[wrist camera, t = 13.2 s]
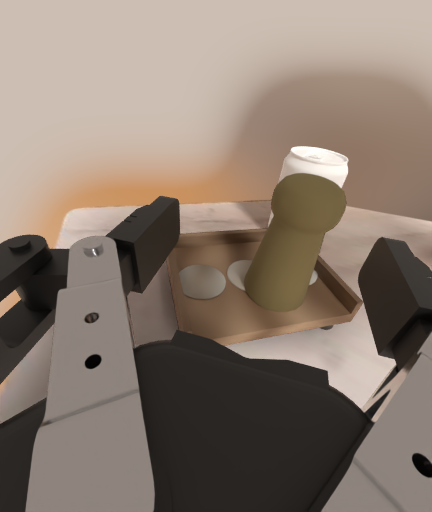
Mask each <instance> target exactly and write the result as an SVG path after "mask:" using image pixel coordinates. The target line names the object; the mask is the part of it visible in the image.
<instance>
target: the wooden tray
mask: <svg viewBox="0 0 432 512" xmlns="http://www.w3.org/2000/svg"><path fill="white" fill-rule="evenodd" d="M267 229H268V228H265V229H249V230H233V231H218V232H202V233H186V234H180V235H179V239H178V242H177V244H176V245H175V247H174V248H173V250H172V251H171V253H170V254H169V255H168V257H167V258H166V262H167V267H168V272H169V278H170V283H171V289H172V294H173V300H174V305H175V311H176V316H177V321H178V327H179V330H180V331H184V332H187V333H191V334H195V335H198V336H202V337H206V338H209V339H212V340H214V341H216V342H218V343H219V344H221V345H223V346H225V345H230V344H235V343H241V342H246V341H251V340H256V339H262V338H267V337H272V336H277V335H282V334H288V333H293V332H298V331H303V330H309V329H314V328H322V329H325V330H328V329H331V328H332V327H333V325H335V324H340V323H345V322H350V321H351V320H352V319H353V317H354V316H355V314H356V313H357V311H358V310H359V308H360V307H361V305H362V303H363V301H362V300H361V299H360V298H359V297H358V296H357V295H356V294H355V293H354V292H353V291H352V290H351V288H350V287H349V286H348V285H347V284H346V283H345V282H344V281H343V280H342V279H341V278H340V277H339V276H338V275H337V274H336V273H335V272H334V271H333V270H332V269H331V268H330V267H329V265H328V264H327V263H326V262H325V261H324V260H323V259H322V258H321V257H320V256H319V255H318V258H317V261H316V264H315V267H314V270H313V274H312V277H311V280H310V283H309V286H308V290H307V293H306V296H305V299H304V301H303V303H302V305H301V306H299V307H298V308H297V309H296V310H292V311H289V312H276V311H272V310H269V309H266V308H264V307H262V306H260V305H258V304H257V303H256V302H255V301H253V300H252V299H251V298H250V297H249V295H248V293H247V292H246V290H245V286H244V279H245V275H246V273H247V271H248V269H249V267H250V265H251V263H252V260H253V258H254V256H255V254H256V252H257V250H258V248H259V246H260V244H261V241H262V239H263V237H264V235H265V233H266V231H267Z"/></svg>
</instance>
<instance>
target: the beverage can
mask: <svg viewBox="0 0 432 512" xmlns="http://www.w3.org/2000/svg"><path fill="white" fill-rule="evenodd" d="M347 162H348V158H347V157H345V156H344V155H341V154H339V153H336V152H333V151H330V150H326V149H321V148H315V147H294V148H292V149H291V151H290V153H289V155H287V156H286V158H285V160H284V163H283V167H282V171H281V175H280V179H279V182H280V181H281V180H282V179H284V178H285V177H286V176H288V175H291V174H295V173H308V174H314V175H318V176H321V177H324V178H327V179H329V180H331V181H333V182H334V183H336V184H337V185H338V186H339V187H340V188H342V186H343V183H344V181H345V179H346V176H347V174H348V167H347ZM273 216H274V214H273V212H272V211H271V215H270V219H269V223H268V227H269V225H270V223H271V220H272V218H273Z"/></svg>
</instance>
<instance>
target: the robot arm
mask: <svg viewBox="0 0 432 512" xmlns="http://www.w3.org/2000/svg"><path fill="white" fill-rule="evenodd" d="M179 235H180V210H179V201H178V199H175V198H170V197H164V196H159V197H158V198H157V199H156V200H155V201H154V202H153V203H152V204H150V205H145V206H143V207H141V208H138V209H136V210H135V211H134V212H133V213H132V214H131V215H130V216H128V217H127V218H126V219H125V220H124V221H122V222H121V223H120V224H119V225H118V226H117V227H115V228H114V229H113V230H112V231H111V232H110V233H108V234H107V235H106V236H92V237H87V238H84V239H81V240H79V241H77V242H76V243H74V244H73V245H72V246H71V248H70V249H49V247H48V244H47V242H46V240H45V238H43V237H41V236H38V235H22V236H18V237H14V238H12V239H8V240H6V241H4V242H2V243H1V244H0V302H1V301H2V300H3V299H4V298H6V297H7V296H8V295H9V294H10V293H11V292H13V291H14V290H15V289H16V291H17V293H18V294H19V296H20V298H21V300H20V301H19V302H18V303H17V304H15V305H14V306H13V307H12V308H11V309H10V310H9V311H8V312H6V313H5V314H4V315H3V316H2V317H1V318H0V384H1V383H2V382H3V381H4V379H5V378H6V377H7V376H8V375H9V374H10V373H11V372H12V370H13V369H14V368H15V367H16V366H17V365H18V364H19V362H20V361H21V360H22V359H23V358H24V357H25V356H26V354H27V353H28V352H29V351H30V350H31V349H32V348H33V347H34V345H35V344H36V343H37V342H38V341H39V340H40V339H41V337H42V336H43V335H44V334H45V333H46V332H47V331H48V329H49V328H50V327H51V326H52V325H53V324H54V323H55V325H54V335H53V345H52V354H51V364H50V374H49V383H48V393H47V398H45V399H43V400H41V401H40V402H38V403H36V404H34V405H33V406H31V407H29V408H27V409H26V410H24V411H22V412H20V413H19V414H17V415H15V416H13V417H12V418H10V419H8V420H6V421H5V422H3V423H1V424H0V512H432V271H431V270H430V268H429V267H428V266H427V265H425V264H424V263H423V262H422V261H421V260H419V259H418V258H417V257H414V255H413V253H412V252H411V250H410V249H409V247H408V245H407V244H406V242H404V241H399V240H394V239H389V238H383V237H381V238H379V239H378V240H377V241H376V243H375V245H374V246H373V248H372V250H371V252H370V253H369V255H368V257H367V259H366V261H365V262H364V264H363V266H362V268H361V270H360V273H359V277H358V284H359V288H360V291H361V295H362V298H363V302H364V305H365V309H366V313H367V316H368V320H369V323H370V327H371V330H372V334H373V337H374V341H375V344H376V348H377V352H378V355H380V356H384V357H388V358H392V359H395V361H396V365H395V366H394V367H393V368H392V369H391V370H390V372H389V373H388V374H387V376H386V377H385V378H384V380H383V381H382V382H381V384H380V385H379V386H378V388H377V389H376V390H375V392H374V393H373V394H372V396H371V397H370V399H369V400H368V401H367V403H366V404H365V405H364V406H363V408H362V409H360V408H359V407H358V406H357V405H356V404H355V403H354V402H353V401H352V400H350V399H349V398H348V397H347V396H345V395H344V394H343V393H341V392H340V391H338V390H337V389H335V388H334V387H332V386H330V385H329V381H328V371H326V370H322V369H319V368H315V367H311V366H308V365H304V364H300V363H297V362H293V361H289V360H273V359H249V358H245V357H243V356H241V355H239V354H238V353H236V352H234V351H232V350H230V349H228V348H227V347H225V346H223V345H221V344H219V343H218V342H216V341H214V340H212V339H209V338H206V337H202V336H198V335H195V334H191V333H187V332H184V331H180V330H176V333H175V335H174V337H173V339H172V340H163V341H155V342H150V343H147V344H144V345H140V346H138V347H136V343H135V338H134V333H133V327H132V321H131V316H130V310H129V305H128V299H127V295H128V294H129V293H130V291H134V292H138V293H143V291H144V290H145V288H146V287H147V285H148V284H149V283H150V281H151V280H152V278H153V277H154V275H155V274H156V273H157V271H158V270H159V268H160V267H161V265H162V264H163V263H164V261H165V260H166V258H167V257H168V255H169V254H170V253H171V251H172V250H173V248H174V247H175V245H176V244H177V242H178V239H179Z"/></svg>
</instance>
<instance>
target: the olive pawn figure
mask: <svg viewBox="0 0 432 512" xmlns="http://www.w3.org/2000/svg"><path fill="white" fill-rule="evenodd" d="M345 208H346V197H345V193H344V191H343V190H342V189H341V188H340V187H339V186H338V185H337V184H336V183H334V182H333V181H331V180H329V179H327V178H324V177H321V176H318V175H314V174H308V173H295V174H291V175H288V176H286V177H285V178H284V179H282V180H281V181H280V182H279V183H278V184H277V186H276V188H275V189H274V192H273V196H272V201H271V210H272V212H273V214H274V216H273V218H272V220H271V223H270V225H269V227H268V229H267V231H266V233H265V235H264V237H263V239H262V241H261V244H260V246H259V248H258V250H257V252H256V254H255V256H254V258H253V260H252V263H251V265H250V267H249V269H248V271H247V273H246V275H245V279H244V286H245V290H246V292H247V293H248V295H249V297H250V298H251V299H252V300H253V301H255V302H256V303H257V304H258V305H260V306H262V307H264V308H266V309H269V310H272V311H276V312H289V311H292V310H296V309H297V308H298V307H299V306H301V305H302V303H303V301H304V299H305V296H306V293H307V290H308V286H309V283H310V280H311V277H312V274H313V270H314V267H315V264H316V261H317V258H318V254H319V251H320V248H321V245H322V242H323V239H324V235H325V232H327V231H329V230H331V229H333V228H334V227H335V226H336V225H337V224H338V223H339V221H340V219H341V217H342V215H343V213H344V211H345Z"/></svg>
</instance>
